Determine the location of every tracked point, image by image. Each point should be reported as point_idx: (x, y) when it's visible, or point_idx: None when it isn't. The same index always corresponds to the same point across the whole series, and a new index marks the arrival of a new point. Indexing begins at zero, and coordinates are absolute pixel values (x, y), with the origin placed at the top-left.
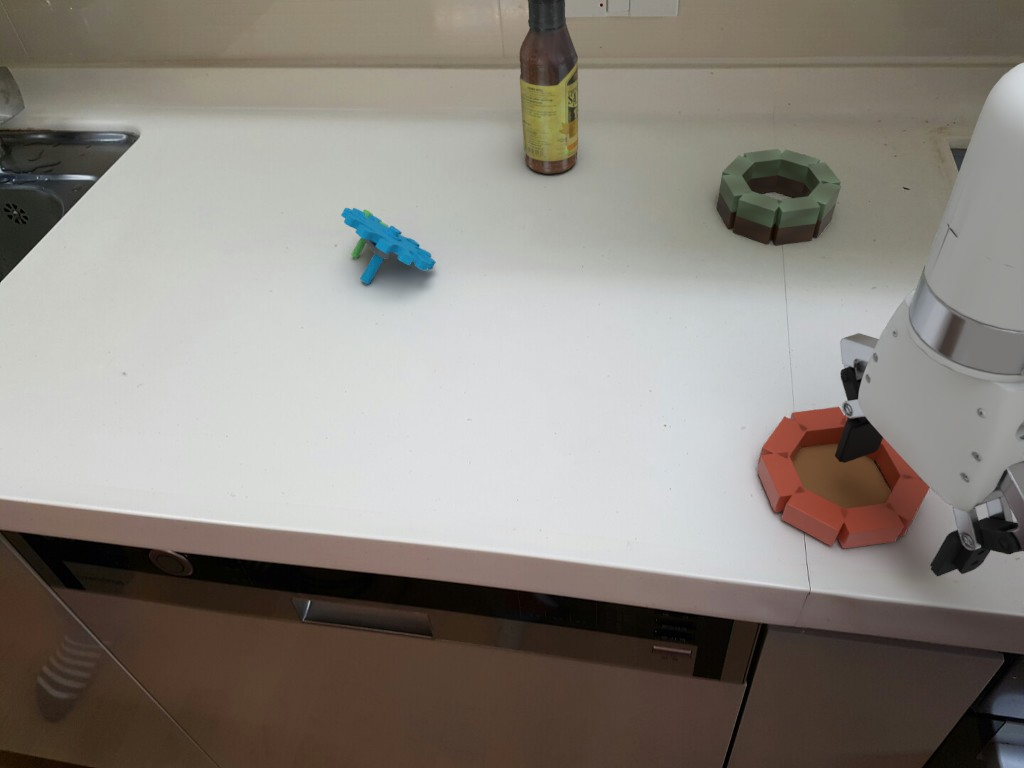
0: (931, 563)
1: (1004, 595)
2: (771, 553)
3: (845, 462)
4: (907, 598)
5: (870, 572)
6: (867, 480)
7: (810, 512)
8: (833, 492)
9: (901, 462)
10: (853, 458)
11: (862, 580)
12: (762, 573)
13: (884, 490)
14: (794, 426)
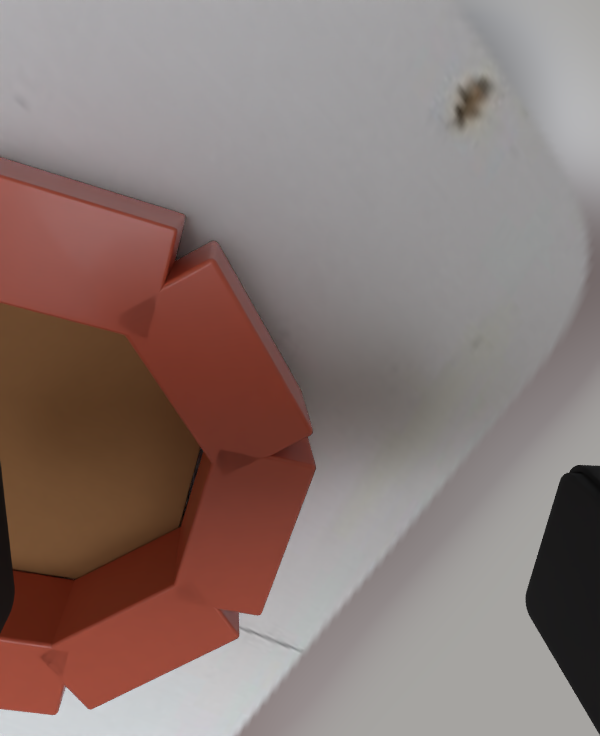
0: (533, 621)
1: (580, 251)
2: (186, 681)
3: (14, 585)
4: (442, 484)
5: (340, 518)
6: (64, 348)
7: (147, 674)
8: (72, 474)
9: (63, 285)
10: (7, 562)
11: (348, 546)
12: (225, 717)
13: None
14: None
